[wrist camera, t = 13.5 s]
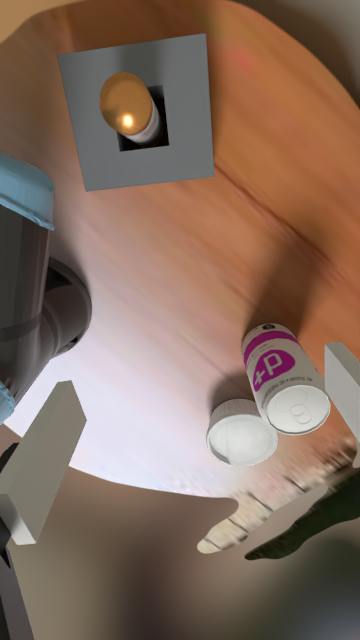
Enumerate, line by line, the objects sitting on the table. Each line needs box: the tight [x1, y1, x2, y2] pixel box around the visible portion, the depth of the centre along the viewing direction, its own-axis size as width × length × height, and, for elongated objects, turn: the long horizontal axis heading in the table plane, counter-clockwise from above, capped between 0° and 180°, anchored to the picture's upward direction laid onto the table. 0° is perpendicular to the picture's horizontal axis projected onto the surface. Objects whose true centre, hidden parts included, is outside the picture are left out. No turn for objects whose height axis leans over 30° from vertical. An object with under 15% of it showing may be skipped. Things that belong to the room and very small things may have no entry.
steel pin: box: [99, 72, 164, 147], centre depth 31 cm, size 4×4×14 cm
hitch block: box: [57, 33, 214, 192], centre depth 35 cm, size 14×12×6 cm
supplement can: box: [241, 323, 330, 435], centre depth 42 cm, size 8×8×15 cm
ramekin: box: [206, 399, 278, 467], centre depth 53 cm, size 11×11×5 cm
